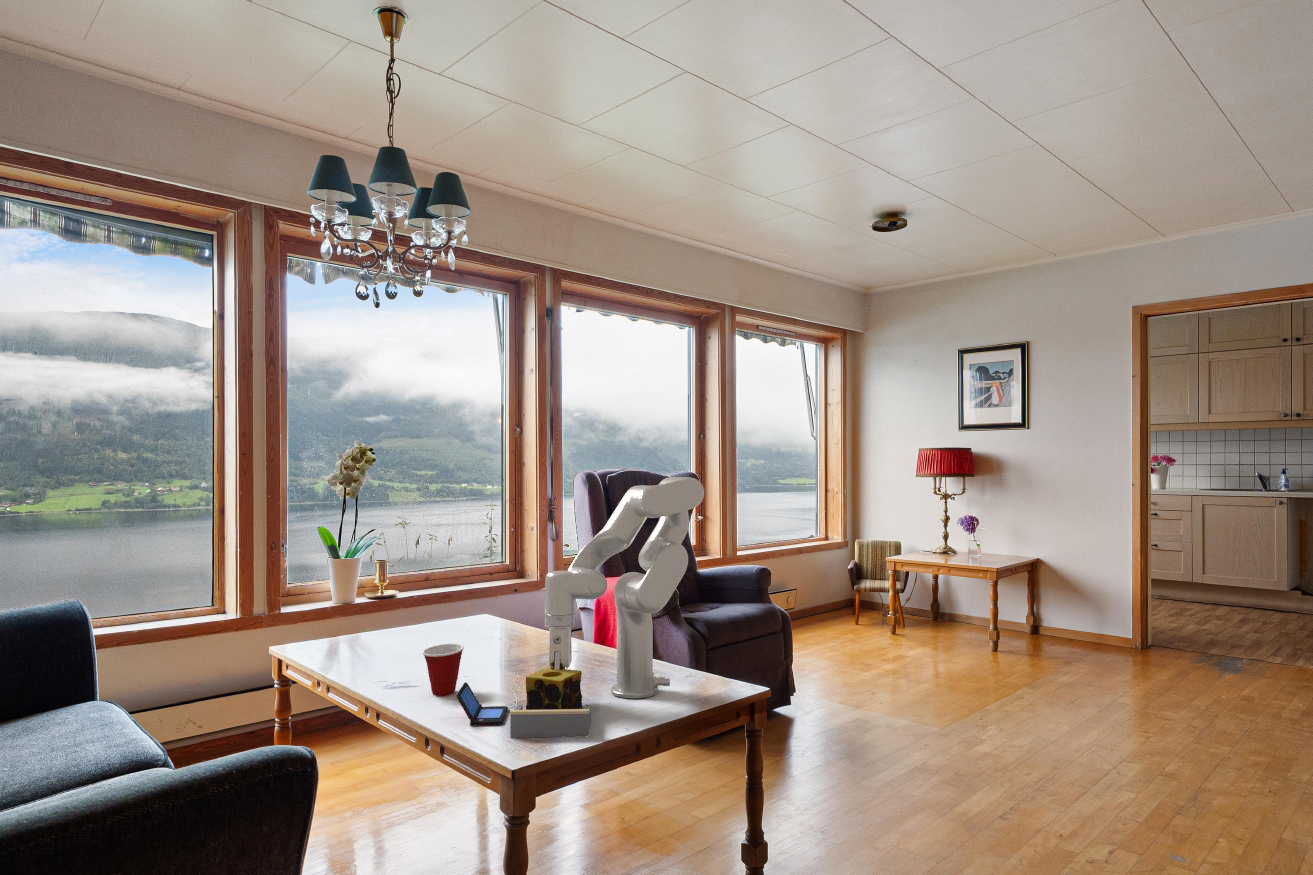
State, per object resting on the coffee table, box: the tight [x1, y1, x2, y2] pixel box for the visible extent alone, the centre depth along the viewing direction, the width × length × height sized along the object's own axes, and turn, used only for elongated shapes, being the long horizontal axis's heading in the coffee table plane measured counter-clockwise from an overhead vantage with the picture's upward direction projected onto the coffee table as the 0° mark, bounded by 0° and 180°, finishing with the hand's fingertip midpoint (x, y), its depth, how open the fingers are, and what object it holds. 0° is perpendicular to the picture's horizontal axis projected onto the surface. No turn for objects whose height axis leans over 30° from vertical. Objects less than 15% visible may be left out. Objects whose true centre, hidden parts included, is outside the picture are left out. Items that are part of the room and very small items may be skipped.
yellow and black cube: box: [525, 667, 583, 710], centre depth 185 cm, size 10×10×10 cm
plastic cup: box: [421, 643, 465, 697], centre depth 204 cm, size 11×11×12 cm
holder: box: [509, 703, 592, 739], centre depth 175 cm, size 17×10×6 cm, turn 92°
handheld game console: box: [455, 681, 509, 727], centre depth 183 cm, size 12×11×7 cm
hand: (559, 693), depth 194 cm, fingers closed
